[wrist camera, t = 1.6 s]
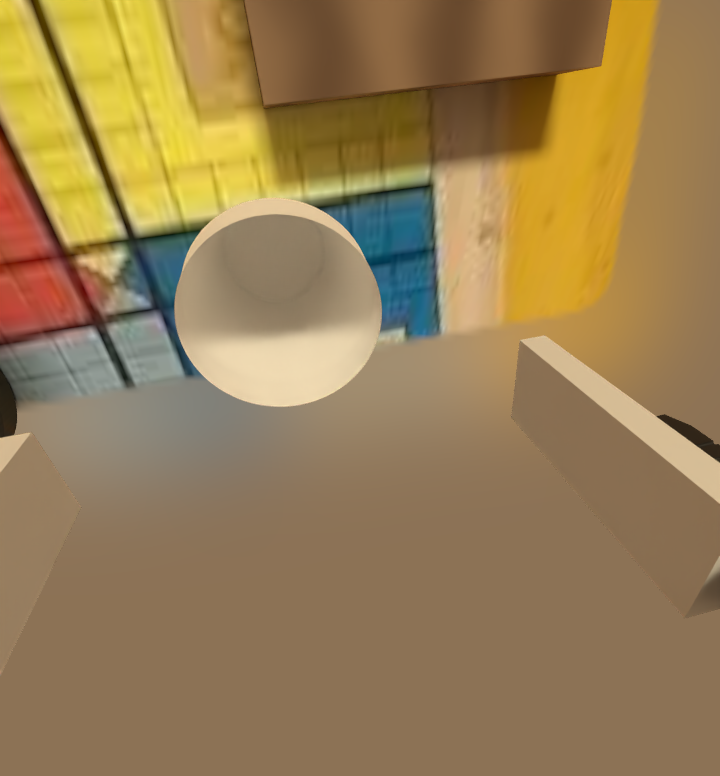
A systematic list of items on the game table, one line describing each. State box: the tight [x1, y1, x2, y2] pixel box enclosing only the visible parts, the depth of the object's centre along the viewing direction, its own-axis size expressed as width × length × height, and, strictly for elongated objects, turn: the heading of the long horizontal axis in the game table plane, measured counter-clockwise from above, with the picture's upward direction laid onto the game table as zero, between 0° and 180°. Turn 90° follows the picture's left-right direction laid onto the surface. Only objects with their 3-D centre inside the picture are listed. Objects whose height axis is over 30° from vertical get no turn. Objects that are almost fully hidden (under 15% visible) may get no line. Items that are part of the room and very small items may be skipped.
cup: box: [175, 198, 382, 407], centre depth 23 cm, size 9×9×12 cm
